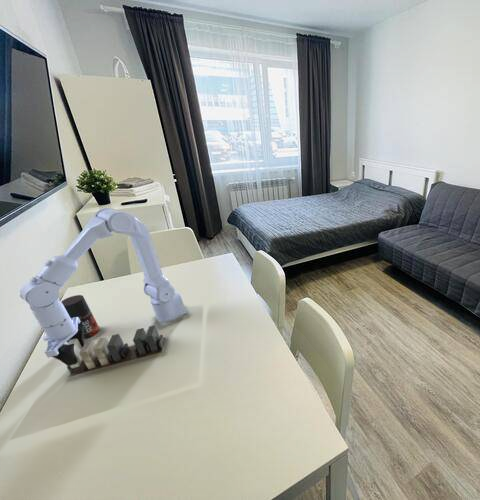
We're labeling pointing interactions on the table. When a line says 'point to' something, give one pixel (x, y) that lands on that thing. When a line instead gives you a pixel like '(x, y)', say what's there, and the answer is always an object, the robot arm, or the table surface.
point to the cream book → (76, 351)
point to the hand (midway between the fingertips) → (76, 356)
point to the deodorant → (81, 314)
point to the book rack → (118, 350)
